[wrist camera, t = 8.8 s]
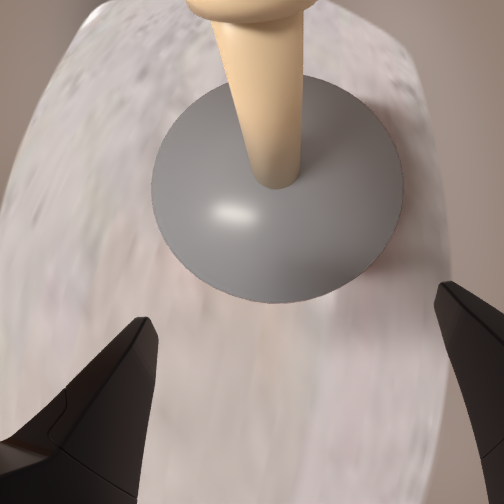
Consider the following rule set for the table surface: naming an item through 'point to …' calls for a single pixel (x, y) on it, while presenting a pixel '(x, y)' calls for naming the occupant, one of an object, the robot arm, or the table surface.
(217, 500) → the table surface
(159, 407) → the table surface
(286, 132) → the cover
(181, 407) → the table surface
